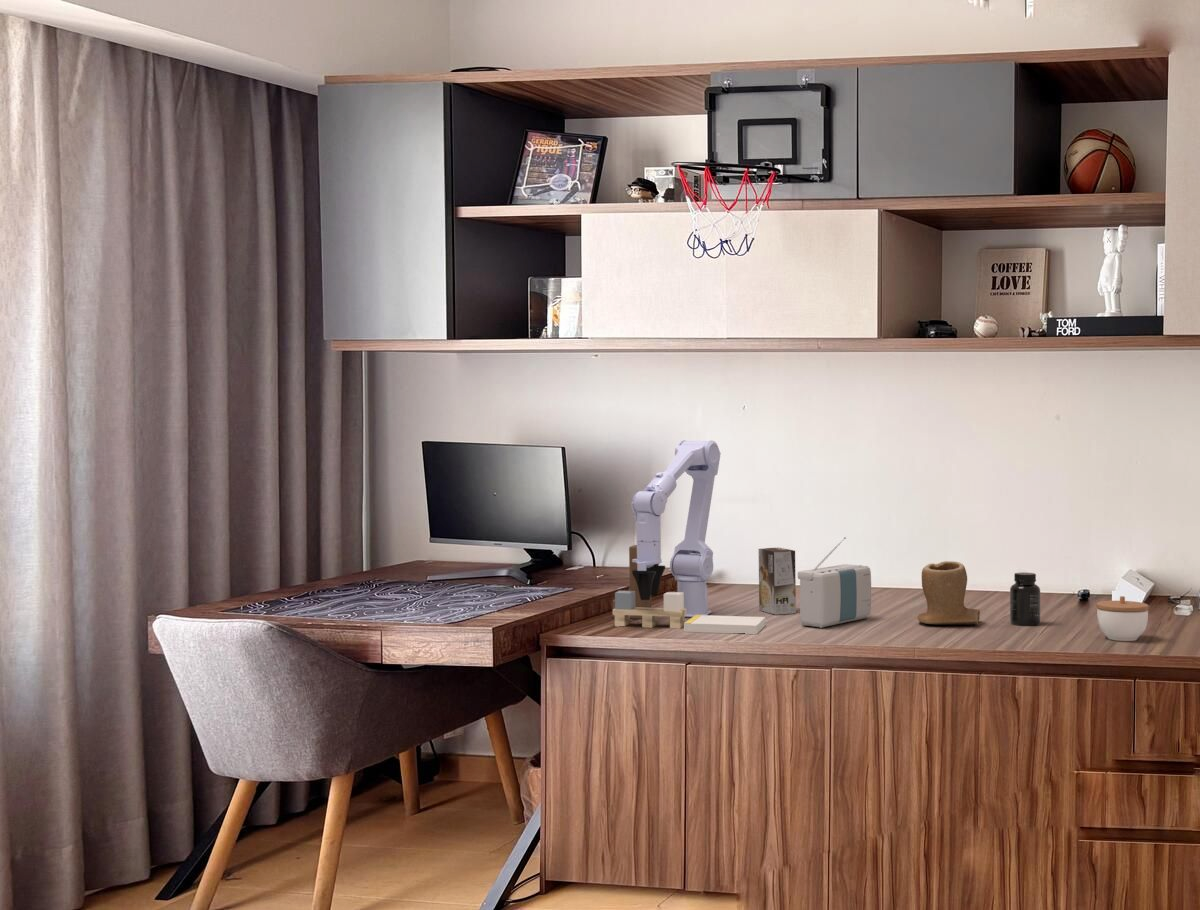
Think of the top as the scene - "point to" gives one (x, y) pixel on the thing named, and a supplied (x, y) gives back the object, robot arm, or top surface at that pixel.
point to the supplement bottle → (1025, 600)
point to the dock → (724, 624)
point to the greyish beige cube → (674, 601)
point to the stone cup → (946, 595)
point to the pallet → (649, 616)
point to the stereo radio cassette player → (834, 594)
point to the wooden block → (633, 583)
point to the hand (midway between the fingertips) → (649, 597)
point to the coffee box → (777, 581)
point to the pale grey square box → (625, 600)
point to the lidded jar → (1122, 619)
